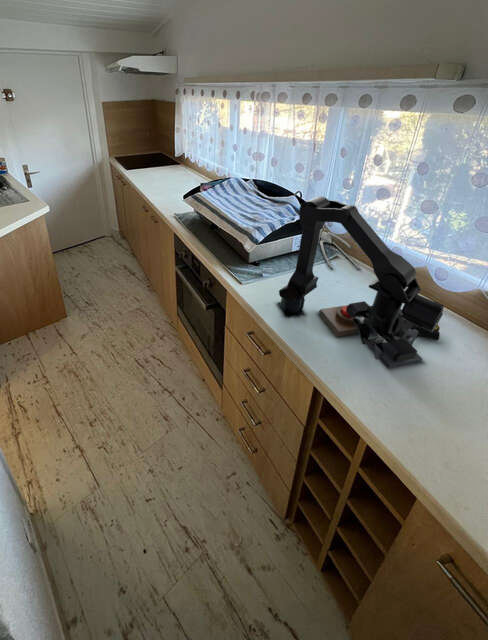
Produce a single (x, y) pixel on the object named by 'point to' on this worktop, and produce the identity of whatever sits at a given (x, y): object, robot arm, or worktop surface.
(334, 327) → the button block
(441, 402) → the worktop surface
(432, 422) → the worktop surface
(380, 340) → the lever
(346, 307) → the button
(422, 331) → the tape measure
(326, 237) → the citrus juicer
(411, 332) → the bracket
